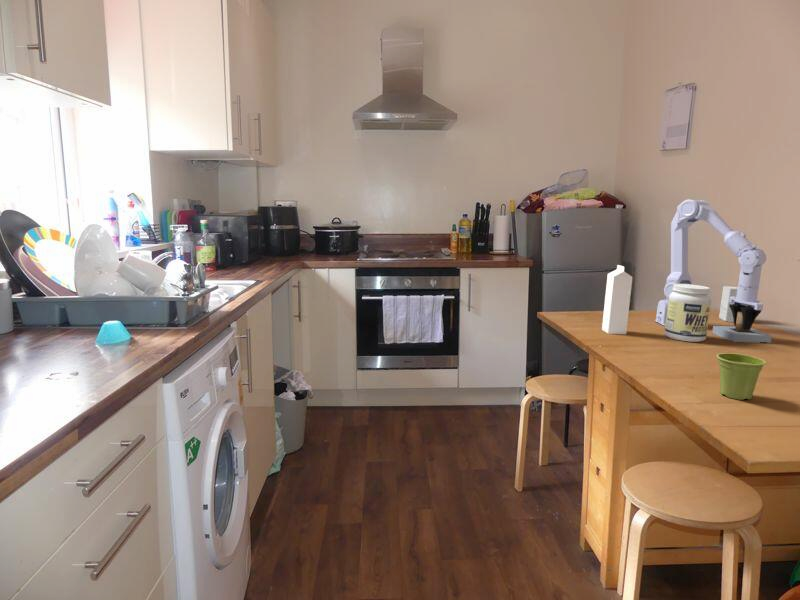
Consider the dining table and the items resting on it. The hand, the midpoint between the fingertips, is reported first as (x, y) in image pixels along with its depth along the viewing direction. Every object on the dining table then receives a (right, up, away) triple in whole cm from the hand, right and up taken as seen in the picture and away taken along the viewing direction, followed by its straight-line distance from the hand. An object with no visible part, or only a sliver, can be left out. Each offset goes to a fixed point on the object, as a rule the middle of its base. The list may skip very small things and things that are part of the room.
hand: (742, 327), depth 185 cm
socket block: (0, -3, +1) cm, 3 cm away
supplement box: (+15, +1, +30) cm, 34 cm away
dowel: (0, -2, 0) cm, 2 cm away
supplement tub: (-20, -3, -3) cm, 21 cm away
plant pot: (-37, -13, -58) cm, 70 cm away
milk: (-41, -2, +2) cm, 41 cm away
